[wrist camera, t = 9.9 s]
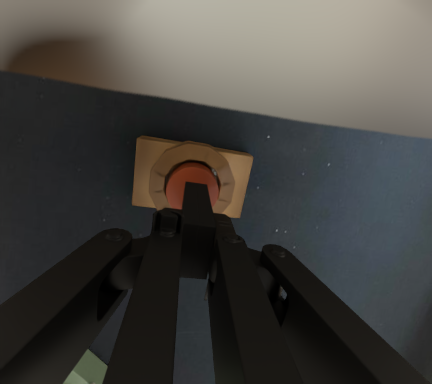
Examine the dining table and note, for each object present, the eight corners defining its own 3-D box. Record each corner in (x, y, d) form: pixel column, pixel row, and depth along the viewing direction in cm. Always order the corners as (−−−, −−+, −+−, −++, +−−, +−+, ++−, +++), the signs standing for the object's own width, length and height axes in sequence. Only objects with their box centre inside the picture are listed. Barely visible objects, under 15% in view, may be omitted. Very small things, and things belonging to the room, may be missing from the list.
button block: (136, 201, 23) (126, 218, 20) (142, 130, 21) (132, 134, 18) (234, 213, 25) (242, 231, 21) (249, 148, 23) (260, 155, 19)
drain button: (165, 205, 20) (163, 213, 18) (170, 158, 19) (169, 163, 17) (211, 211, 21) (213, 219, 19) (220, 166, 19) (223, 171, 18)
